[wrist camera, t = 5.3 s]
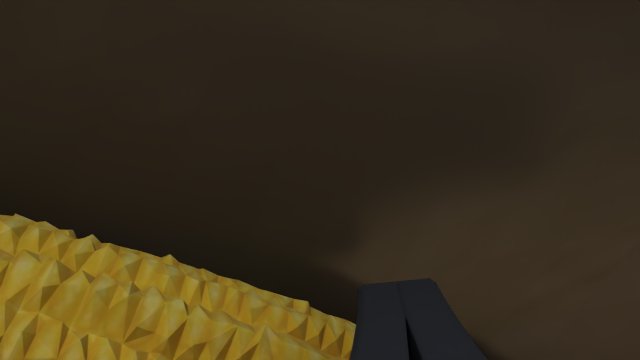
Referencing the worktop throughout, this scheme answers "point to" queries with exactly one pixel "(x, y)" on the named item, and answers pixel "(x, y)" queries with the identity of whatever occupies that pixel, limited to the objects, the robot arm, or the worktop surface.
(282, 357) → the food
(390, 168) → the worktop surface
